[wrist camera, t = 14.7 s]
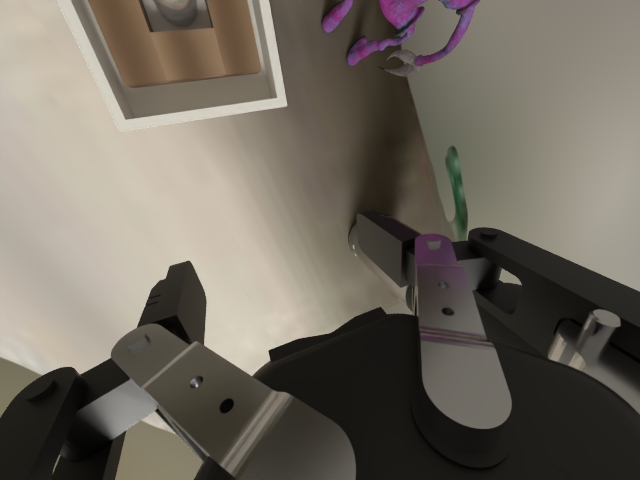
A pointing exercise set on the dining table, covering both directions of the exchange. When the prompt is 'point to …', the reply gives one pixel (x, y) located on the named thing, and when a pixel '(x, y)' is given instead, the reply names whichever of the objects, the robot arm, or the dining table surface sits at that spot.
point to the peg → (178, 11)
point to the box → (186, 97)
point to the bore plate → (178, 44)
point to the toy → (402, 31)
